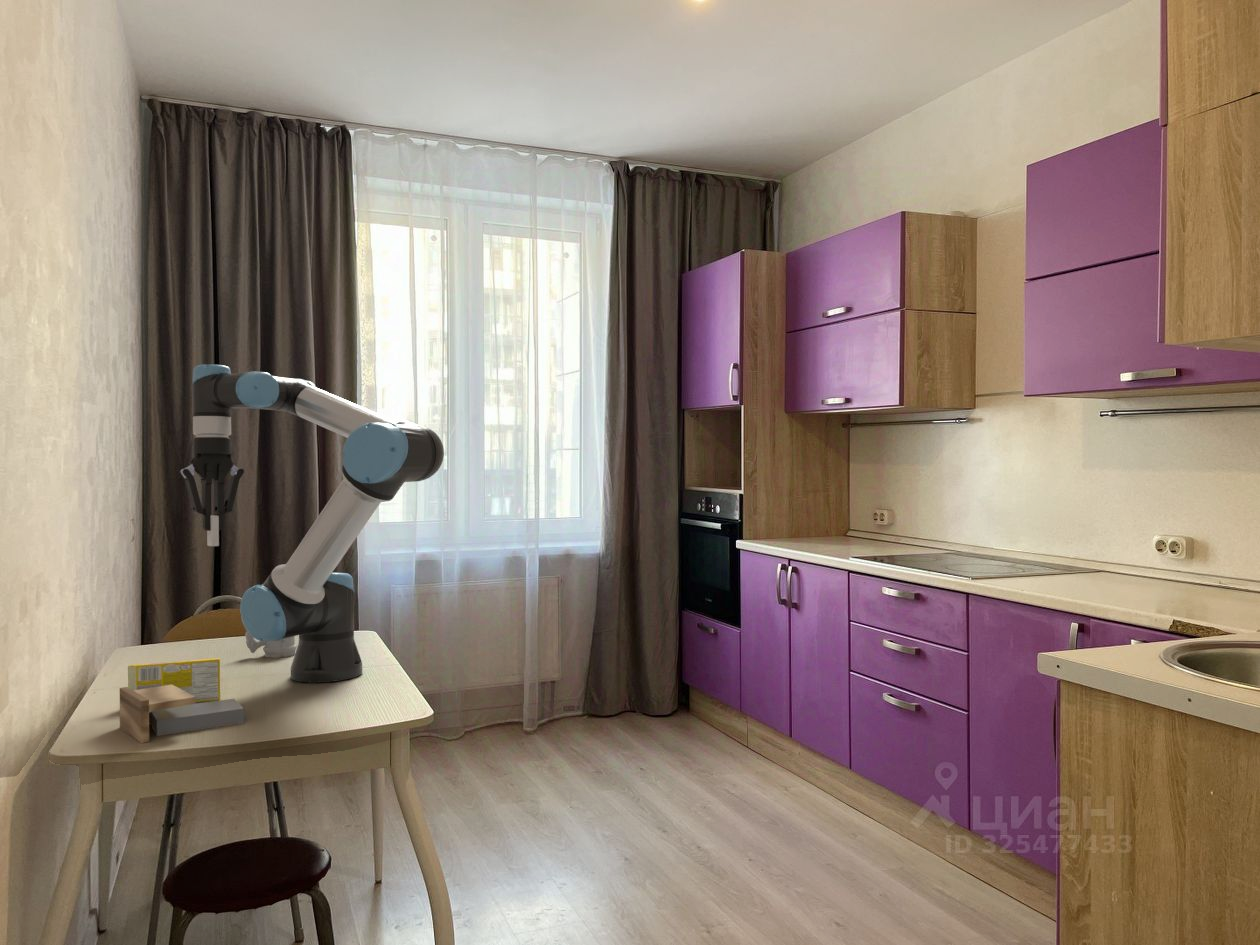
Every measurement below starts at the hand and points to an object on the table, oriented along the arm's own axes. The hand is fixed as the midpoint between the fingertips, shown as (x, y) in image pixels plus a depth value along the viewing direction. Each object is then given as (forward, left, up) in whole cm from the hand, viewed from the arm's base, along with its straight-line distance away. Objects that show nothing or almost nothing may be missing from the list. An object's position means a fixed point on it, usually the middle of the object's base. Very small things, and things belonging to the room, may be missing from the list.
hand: (213, 545), depth 195 cm
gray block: (+14, +32, -30) cm, 46 cm away
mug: (-20, -19, -30) cm, 40 cm away
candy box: (+12, +14, -30) cm, 35 cm away
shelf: (+20, +32, -29) cm, 48 cm away
